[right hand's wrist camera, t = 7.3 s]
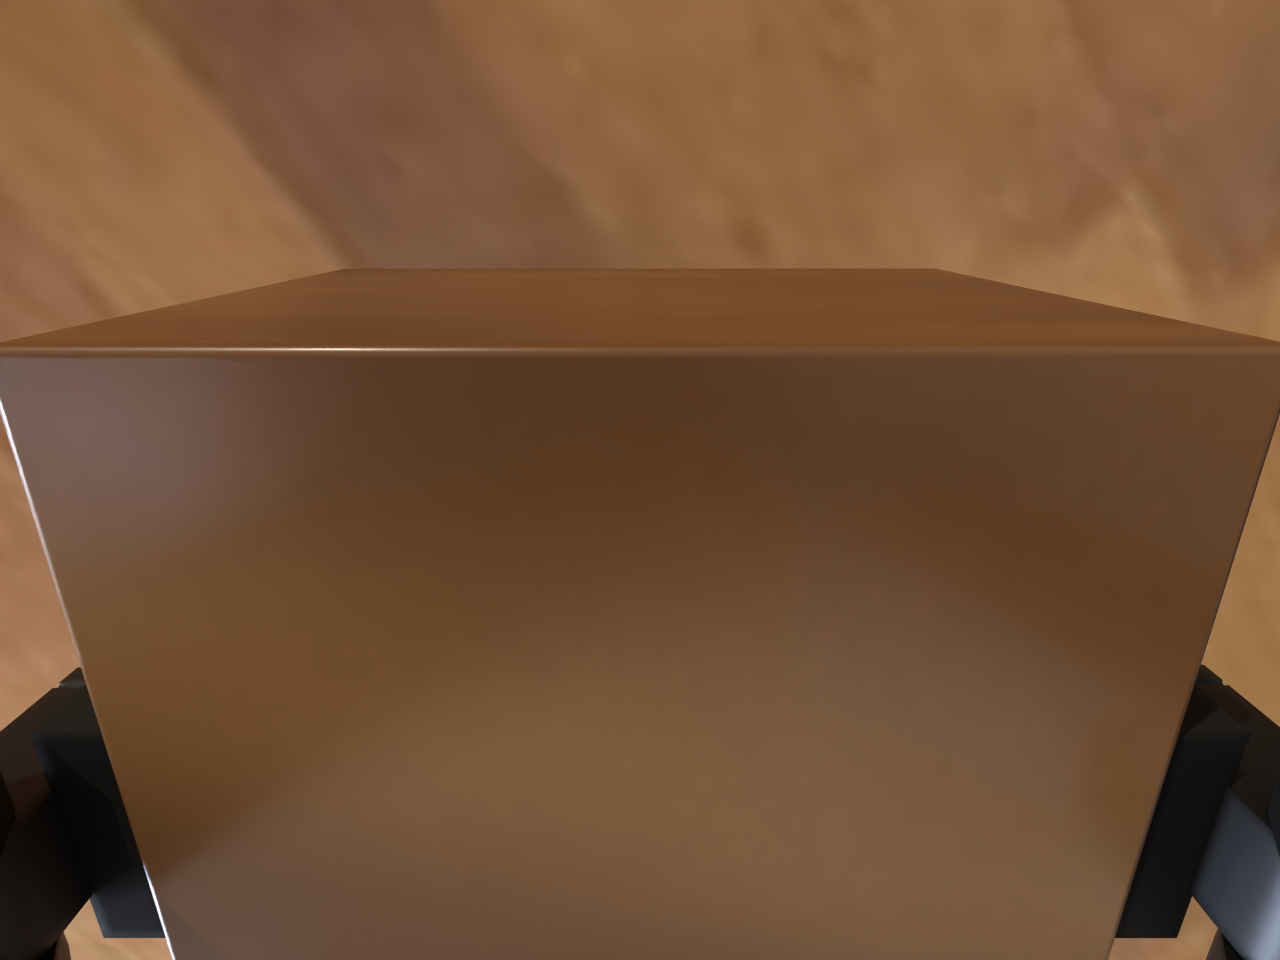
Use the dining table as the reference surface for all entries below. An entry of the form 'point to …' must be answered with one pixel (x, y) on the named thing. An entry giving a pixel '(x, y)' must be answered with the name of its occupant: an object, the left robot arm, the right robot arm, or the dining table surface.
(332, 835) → the wide beam
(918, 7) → the dining table surface
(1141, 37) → the dining table surface
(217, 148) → the dining table surface
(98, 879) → the right robot arm
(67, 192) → the dining table surface
